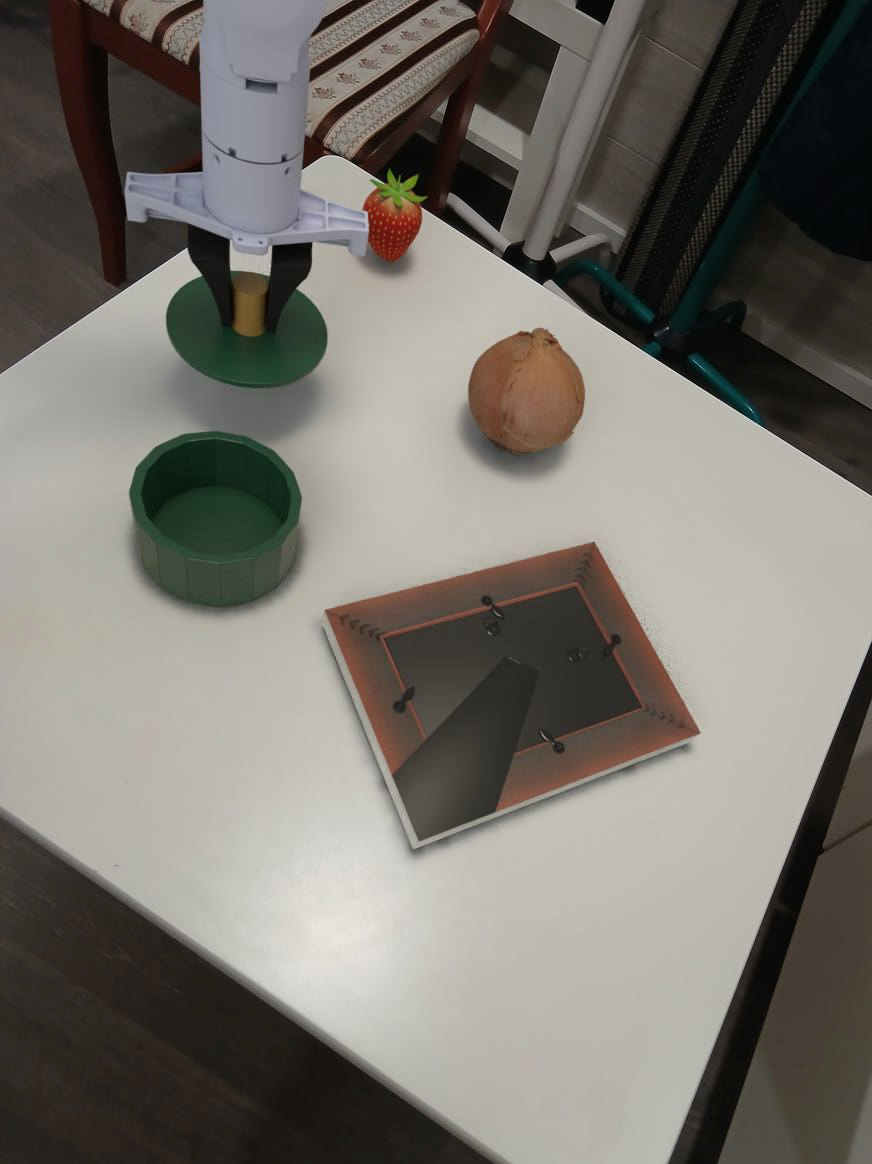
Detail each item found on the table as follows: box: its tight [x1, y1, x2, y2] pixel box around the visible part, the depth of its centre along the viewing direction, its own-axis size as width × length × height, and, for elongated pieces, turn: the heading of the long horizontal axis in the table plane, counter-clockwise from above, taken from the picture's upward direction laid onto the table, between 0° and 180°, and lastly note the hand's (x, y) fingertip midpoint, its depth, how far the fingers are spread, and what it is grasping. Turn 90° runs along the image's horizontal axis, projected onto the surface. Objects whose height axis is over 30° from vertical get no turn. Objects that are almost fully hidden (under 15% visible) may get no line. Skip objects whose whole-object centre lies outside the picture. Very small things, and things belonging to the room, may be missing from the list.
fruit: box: [362, 168, 429, 263], centre depth 73 cm, size 5×5×8 cm
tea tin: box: [128, 430, 303, 608], centre depth 56 cm, size 10×10×5 cm
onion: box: [467, 327, 586, 456], centre depth 67 cm, size 10×9×10 cm
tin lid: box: [165, 270, 329, 390], centre depth 59 cm, size 11×11×5 cm
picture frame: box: [321, 541, 701, 850], centre depth 58 cm, size 16×2×22 cm
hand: (248, 319), depth 60 cm, fingers closed on tin lid, 2 cm apart
